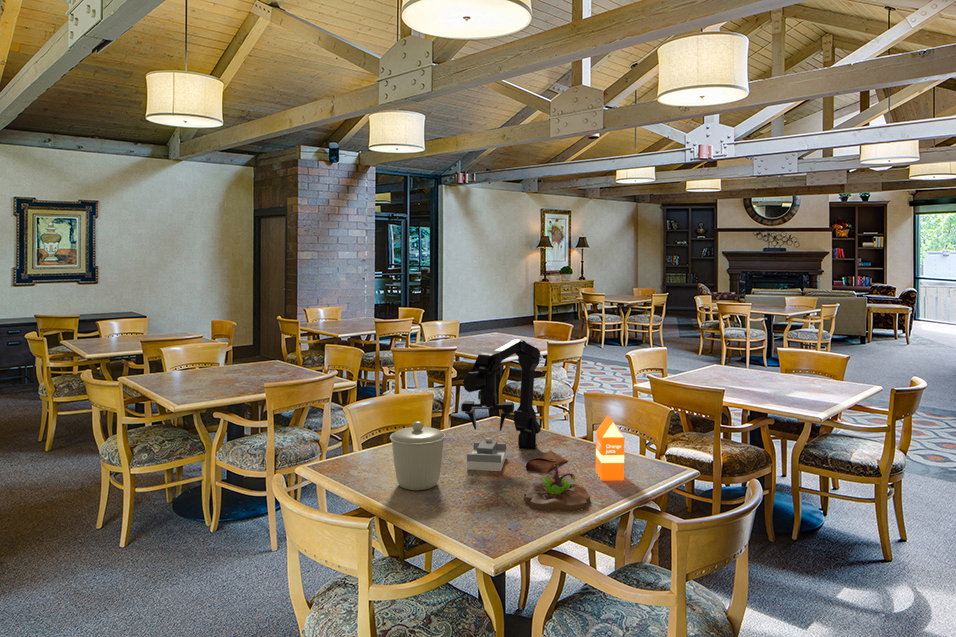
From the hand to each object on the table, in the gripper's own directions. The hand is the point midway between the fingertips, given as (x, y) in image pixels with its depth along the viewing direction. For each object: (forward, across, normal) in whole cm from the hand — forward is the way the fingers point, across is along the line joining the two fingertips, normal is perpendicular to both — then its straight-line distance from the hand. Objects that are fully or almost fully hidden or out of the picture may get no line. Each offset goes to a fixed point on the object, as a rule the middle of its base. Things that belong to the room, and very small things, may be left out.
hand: (488, 430), depth 229 cm
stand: (+12, 0, +2) cm, 12 cm away
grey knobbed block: (+9, 0, +2) cm, 9 cm away
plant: (+12, -26, +33) cm, 44 cm away
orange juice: (+12, -43, +10) cm, 46 cm away
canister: (+12, +19, +28) cm, 36 cm away
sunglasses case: (+12, -22, +1) cm, 25 cm away
